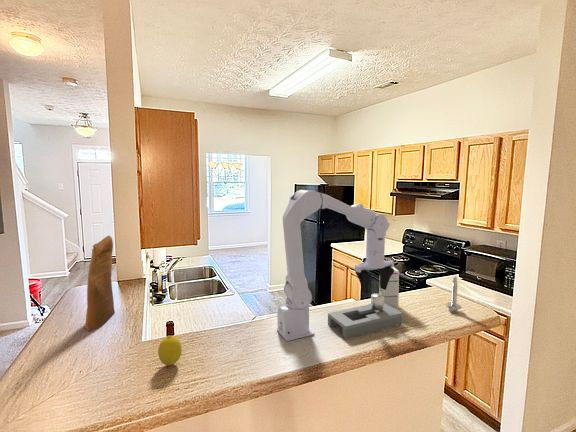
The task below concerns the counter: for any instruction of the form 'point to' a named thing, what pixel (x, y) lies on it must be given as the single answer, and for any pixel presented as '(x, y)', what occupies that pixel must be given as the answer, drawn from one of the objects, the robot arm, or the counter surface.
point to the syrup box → (391, 290)
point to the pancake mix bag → (100, 285)
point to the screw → (454, 298)
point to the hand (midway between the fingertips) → (374, 290)
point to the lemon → (169, 350)
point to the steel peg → (377, 302)
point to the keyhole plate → (364, 320)
